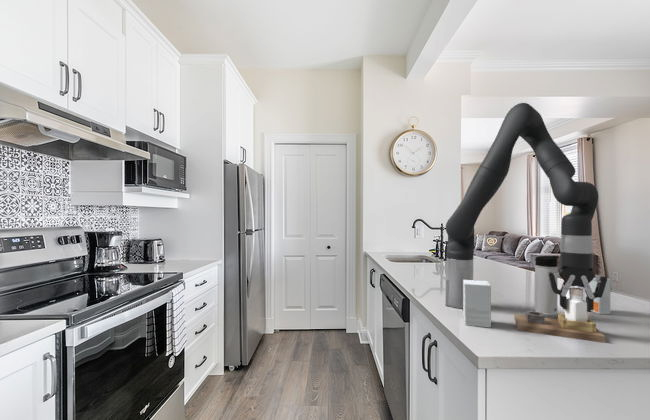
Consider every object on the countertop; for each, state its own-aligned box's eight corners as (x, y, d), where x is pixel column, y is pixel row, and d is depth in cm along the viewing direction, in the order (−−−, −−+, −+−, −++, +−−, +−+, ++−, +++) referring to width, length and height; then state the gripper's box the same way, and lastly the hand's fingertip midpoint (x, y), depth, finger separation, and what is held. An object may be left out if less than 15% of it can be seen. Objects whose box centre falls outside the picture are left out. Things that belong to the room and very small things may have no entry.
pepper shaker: (588, 323, 94) (588, 290, 94) (575, 324, 94) (575, 290, 94) (576, 319, 98) (576, 286, 98) (564, 319, 98) (564, 287, 98)
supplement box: (487, 320, 106) (488, 280, 106) (491, 328, 99) (491, 285, 99) (462, 318, 108) (462, 278, 108) (464, 325, 101) (464, 283, 101)
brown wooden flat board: (517, 330, 97) (517, 316, 97) (514, 318, 108) (514, 306, 108) (604, 342, 88) (604, 327, 88) (591, 328, 99) (591, 315, 99)
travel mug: (562, 319, 108) (562, 257, 108) (539, 317, 109) (539, 256, 109) (553, 313, 114) (553, 254, 114) (531, 312, 115) (532, 254, 116)
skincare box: (584, 309, 120) (584, 275, 120) (595, 309, 120) (595, 275, 120) (599, 314, 114) (599, 279, 114) (611, 314, 114) (611, 279, 114)
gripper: (549, 250, 96) (548, 310, 96) (612, 253, 90) (612, 317, 90) (544, 248, 103) (544, 303, 103) (603, 250, 97) (603, 310, 97)
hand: (576, 309), depth 96 cm, fingers closed on pepper shaker, 5 cm apart
